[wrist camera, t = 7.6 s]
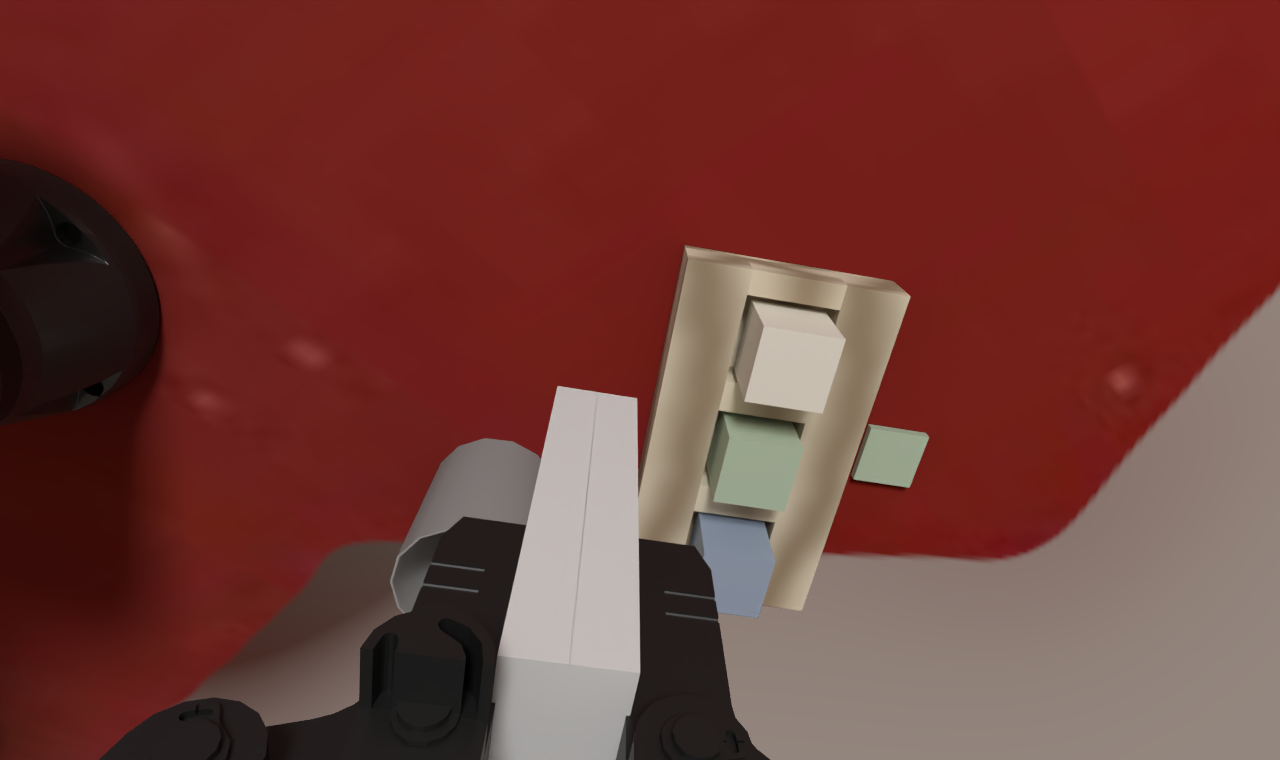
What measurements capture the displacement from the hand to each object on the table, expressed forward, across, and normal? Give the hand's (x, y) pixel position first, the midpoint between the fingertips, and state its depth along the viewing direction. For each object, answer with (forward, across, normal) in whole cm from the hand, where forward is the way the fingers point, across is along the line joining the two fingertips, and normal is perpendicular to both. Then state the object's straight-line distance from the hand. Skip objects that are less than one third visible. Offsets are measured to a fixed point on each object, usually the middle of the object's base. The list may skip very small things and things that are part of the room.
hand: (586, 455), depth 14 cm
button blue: (+28, +11, -22) cm, 37 cm away
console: (+30, +11, -14) cm, 35 cm away
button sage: (+30, +11, -15) cm, 35 cm away
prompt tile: (+30, +21, -14) cm, 40 cm away
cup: (+31, -5, -22) cm, 38 cm away
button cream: (+28, +11, -7) cm, 31 cm away
